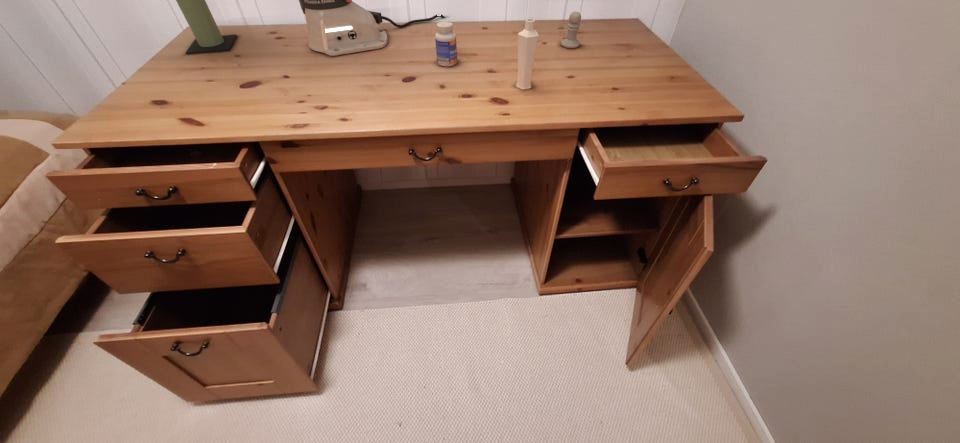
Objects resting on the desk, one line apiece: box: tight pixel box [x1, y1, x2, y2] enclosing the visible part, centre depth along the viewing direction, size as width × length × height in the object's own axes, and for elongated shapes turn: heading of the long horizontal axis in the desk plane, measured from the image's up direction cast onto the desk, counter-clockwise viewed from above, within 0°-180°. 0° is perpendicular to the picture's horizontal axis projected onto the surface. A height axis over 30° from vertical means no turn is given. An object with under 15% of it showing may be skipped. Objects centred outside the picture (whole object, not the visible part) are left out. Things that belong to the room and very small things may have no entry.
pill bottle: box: [434, 21, 458, 67], centre depth 98 cm, size 5×5×10 cm
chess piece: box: [560, 10, 582, 49], centre depth 107 cm, size 5×5×9 cm
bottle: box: [175, 0, 224, 47], centre depth 102 cm, size 6×6×17 cm
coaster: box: [185, 33, 238, 55], centre depth 109 cm, size 11×11×1 cm
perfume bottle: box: [515, 18, 540, 91], centre depth 87 cm, size 5×4×15 cm
